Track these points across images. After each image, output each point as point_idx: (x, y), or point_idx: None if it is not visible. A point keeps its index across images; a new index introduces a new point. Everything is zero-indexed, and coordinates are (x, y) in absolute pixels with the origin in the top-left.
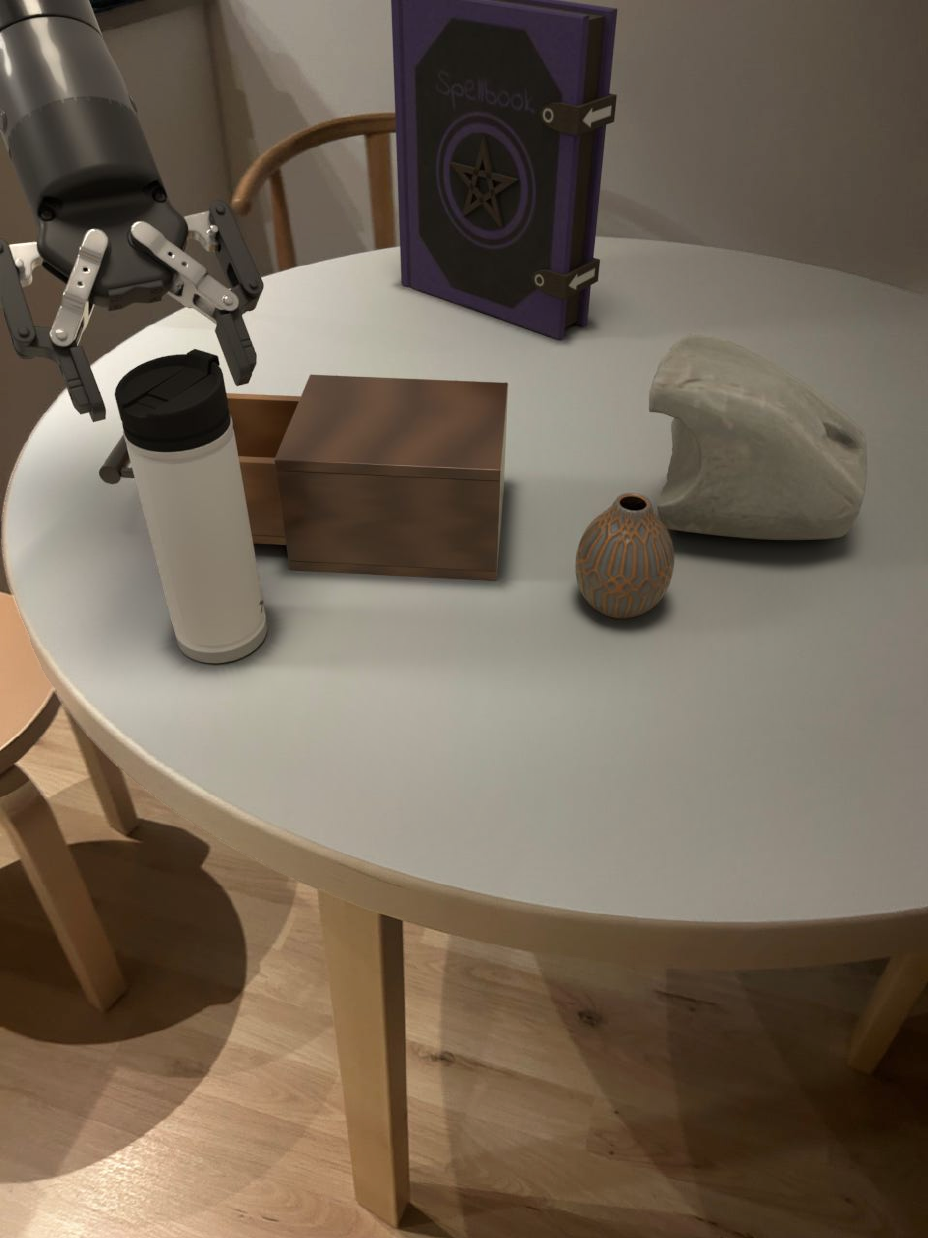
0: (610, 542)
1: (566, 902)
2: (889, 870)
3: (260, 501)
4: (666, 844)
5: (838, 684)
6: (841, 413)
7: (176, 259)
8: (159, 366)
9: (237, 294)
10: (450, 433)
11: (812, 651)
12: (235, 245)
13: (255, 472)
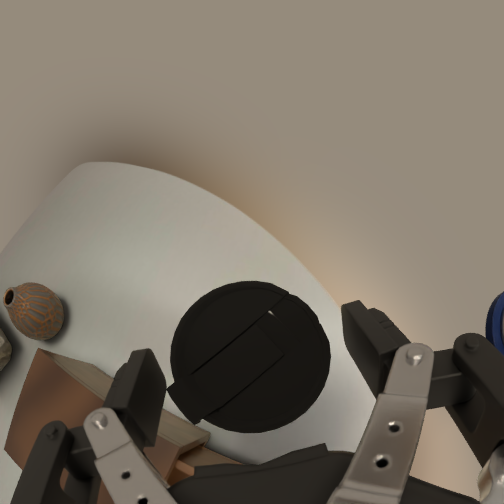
0: (32, 294)
1: (163, 174)
2: (76, 172)
3: (211, 462)
4: (120, 188)
5: (28, 241)
6: None
7: (136, 486)
8: (259, 422)
9: (83, 440)
10: (45, 411)
11: (22, 260)
12: (30, 489)
13: None
